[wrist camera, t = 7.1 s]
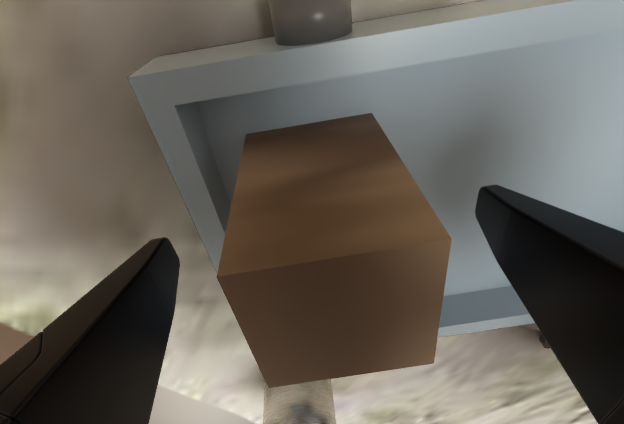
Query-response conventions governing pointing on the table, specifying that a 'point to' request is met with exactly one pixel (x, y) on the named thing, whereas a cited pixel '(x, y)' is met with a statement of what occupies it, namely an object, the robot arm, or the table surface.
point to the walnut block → (332, 254)
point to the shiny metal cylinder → (299, 403)
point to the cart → (416, 116)
